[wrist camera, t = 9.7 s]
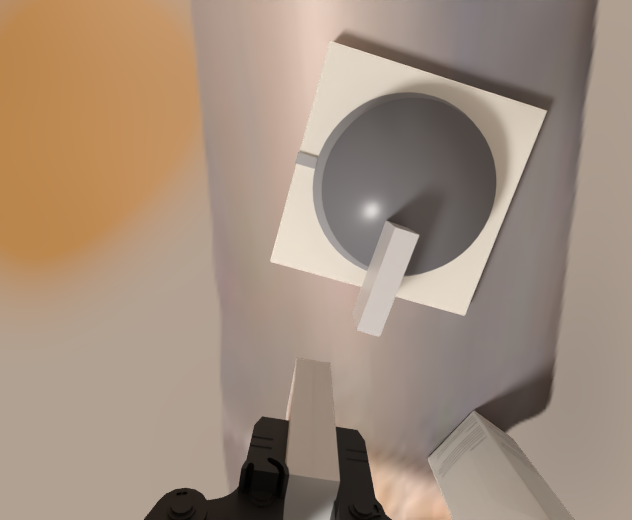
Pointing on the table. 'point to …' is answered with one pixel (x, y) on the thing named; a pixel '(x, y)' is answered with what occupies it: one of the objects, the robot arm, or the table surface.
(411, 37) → the table surface
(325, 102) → the dial plate
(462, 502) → the skincare box
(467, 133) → the dial
